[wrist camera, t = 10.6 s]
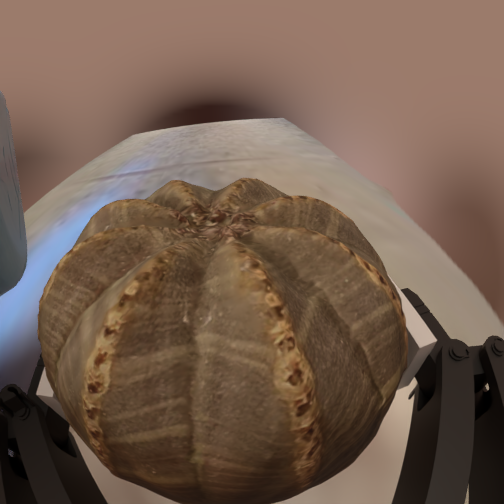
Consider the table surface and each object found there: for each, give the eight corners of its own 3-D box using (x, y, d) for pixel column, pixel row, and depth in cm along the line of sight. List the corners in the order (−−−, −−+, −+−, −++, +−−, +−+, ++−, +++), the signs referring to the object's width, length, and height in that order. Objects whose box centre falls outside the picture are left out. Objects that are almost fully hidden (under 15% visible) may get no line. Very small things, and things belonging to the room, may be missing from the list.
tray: (37, 475, 10) (16, 464, 9) (182, 288, 28) (177, 269, 27) (366, 614, 2) (379, 623, 1) (423, 338, 20) (433, 318, 19)
